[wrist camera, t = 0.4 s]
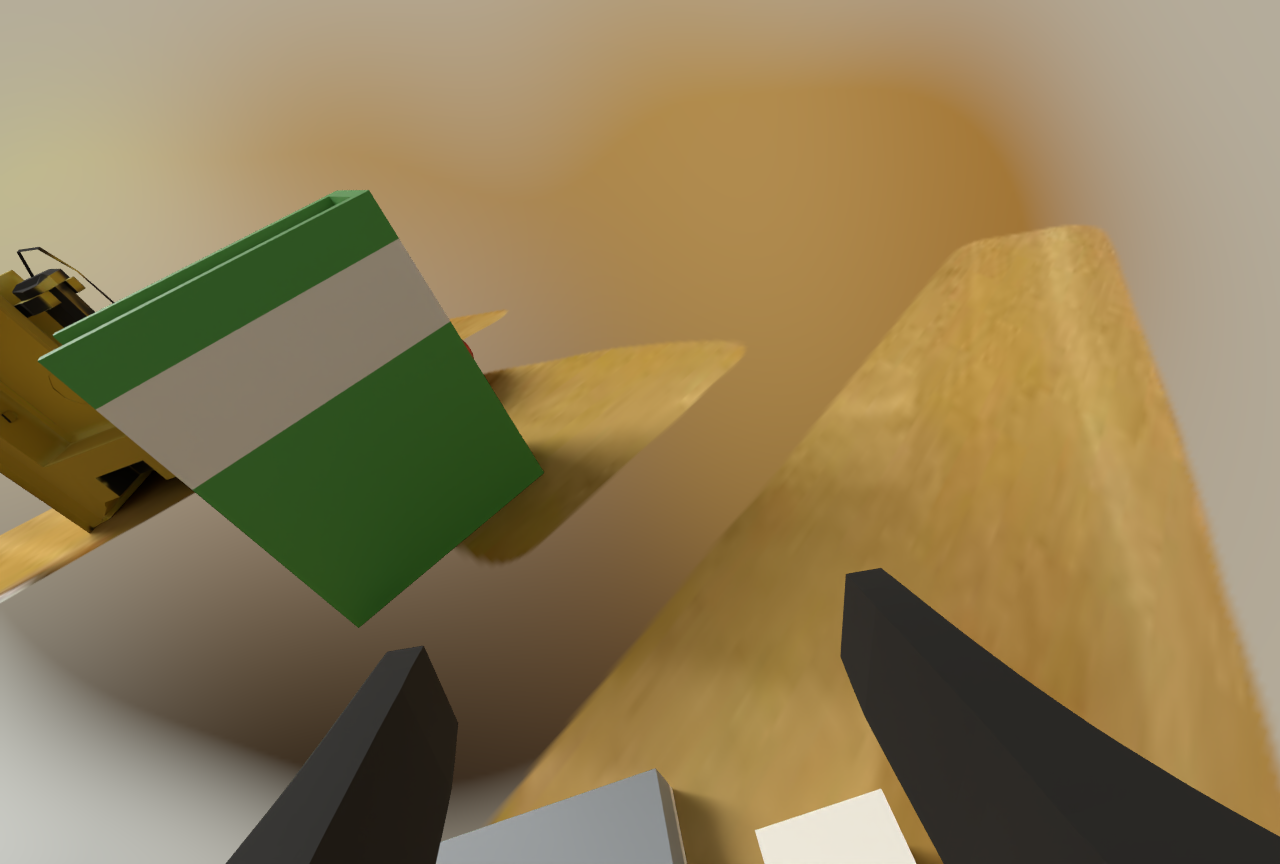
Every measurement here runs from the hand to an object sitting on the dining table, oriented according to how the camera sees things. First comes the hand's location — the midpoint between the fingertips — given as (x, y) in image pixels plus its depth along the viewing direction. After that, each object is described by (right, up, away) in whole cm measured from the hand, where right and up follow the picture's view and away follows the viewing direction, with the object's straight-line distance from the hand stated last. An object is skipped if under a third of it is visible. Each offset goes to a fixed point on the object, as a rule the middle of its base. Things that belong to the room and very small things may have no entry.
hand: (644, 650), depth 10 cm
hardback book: (-17, -4, +37) cm, 41 cm away
